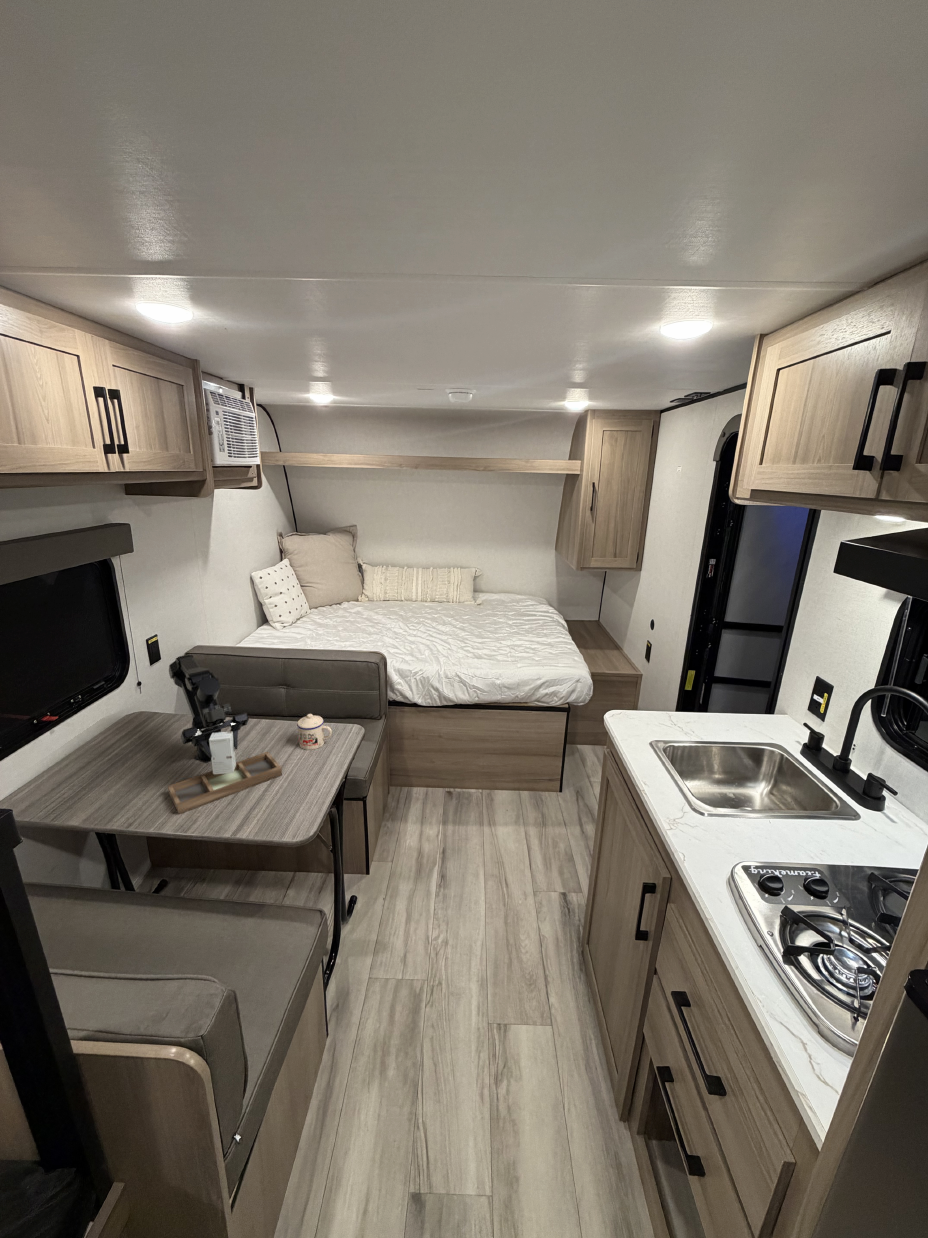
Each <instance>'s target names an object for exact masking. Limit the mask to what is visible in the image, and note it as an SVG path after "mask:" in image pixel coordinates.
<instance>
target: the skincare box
mask: <svg viewBox="0 0 928 1238" xmlns="http://www.w3.org/2000/svg"><path fill="white" fill-rule="evenodd" d="M209 744H210V751H211V755H212V758H211V761H210V762H211V769H212V770H211V771H213V774H225V773H233V772H234V769H235V766H236V762H237V761H236V753H235V747H234V741H233V732H230V731H221V732H219V733H212V735H211V737H210V739H209Z"/></svg>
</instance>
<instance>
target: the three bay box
mask: <svg viewBox="0 0 928 1238" xmlns="http://www.w3.org/2000/svg"><path fill="white" fill-rule="evenodd" d="M281 776H283V771H282V766H281V765H280V764H279V763H278V761H276V759H274V757H273V756H272V755H271V753H269V751H265V752H263V753H260V754H257V755H254V756H250V757H247V758H245V759H242V760H239V761H236V766H235V769H234V772H233V773H225V774H213V770H211V771H207V772H205V773H201V774H199V775H196V776H193V777H190V778H187V779H185V780H182V781H179V782H176V783H172V784H170V785H167V789H168V795H169V796H170V798H171V801H172V803H173V805H174V808H175V809H176V811H177V814H178V815H182V814H184V813H187V812H189V811H192V810H195V809H197V808H201V807H202V806H205V805H208V804H210V803H211V804H212V803H214V802H215V801H218V800H221V799H225V798H226V797H229V796H231V795H234V794H238V793H239V792H241V791H244V790H247V789H250V788H253V787H255V786H257V785H260V784H262V783H265V782H268V781H271V780H274V779H276V778H279V777H281Z"/></svg>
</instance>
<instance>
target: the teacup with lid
mask: <svg viewBox="0 0 928 1238" xmlns="http://www.w3.org/2000/svg"><path fill="white" fill-rule="evenodd" d="M324 722H325V721H324V718H323V717H321V716H320V715H315V714H314V715H313V714H312V713H308V714H306V716H303V717H301V718H300V719H299V720H298V721H297V724H296V726H297V730H298V743H299V746H300V747H299V748H300V749H303V750H306V751H312V750H316V749H319V748H321V747H323V745H325V741H326V740H329V739H330V737H332V734H333V731H332V730H333V729H331V727H330V726H328V725H326V726H325V725H324ZM325 730H327V731H328V732H329V733H328V734H329V735H327V736H325Z"/></svg>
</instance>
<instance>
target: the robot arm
mask: <svg viewBox="0 0 928 1238" xmlns="http://www.w3.org/2000/svg"><path fill="white" fill-rule="evenodd" d="M168 674H169V678H170V679H172V680H173V683H174V685H175V686H176V687H177V686H178V687H179V688H181V690H182V692H183V695H184V698H185V700H186V703H187V705H188V709H189V711H190V713H191V714H190V715H191V716H192V722H191V727H189V728H184V729H183V730H182V731H181V734H180V739H181V742H182V745H186V744H189V743H190V744H191V745H193V747H194V748H195V747H196V752H197V754H196V755H195V756H194V757H193V759H195V760H198V761H201V762H203V763H209V762H212V761H211V758H212V755H211V751H210V744H209V739H210V737H211V735H212V733H219V732H222V729H225V728H228V727H230V731H229V732H233V741H234V750H238V735H239V731H240V730H241V729H242V727H244V726H246V725H248V722H249V720H250V717H249V715H248V713H247V712H241V713H238V714H234V715H232V718H231V719H228V720H226V718H227V715H229V714H233V713H232V712H233V711H232V706H231V705H230V704H231V703H229V702H227V703H224V704H222V705H220V704H219V701H218V698H217V697H218V695H219V692H220V689H221V682H219V678H218V677H217V676H216V675H215V674H214V673H213V672H212V671H210V670H209V668H207V667H200V665H199V664H198V663H197V661H196V659H195V658H194V656H193V655H192V654H184V655H180V656H177V657H176V658H175V660H174V661H173V662H171V663H170V664H169V666H168ZM221 706H222V707H221Z"/></svg>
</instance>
